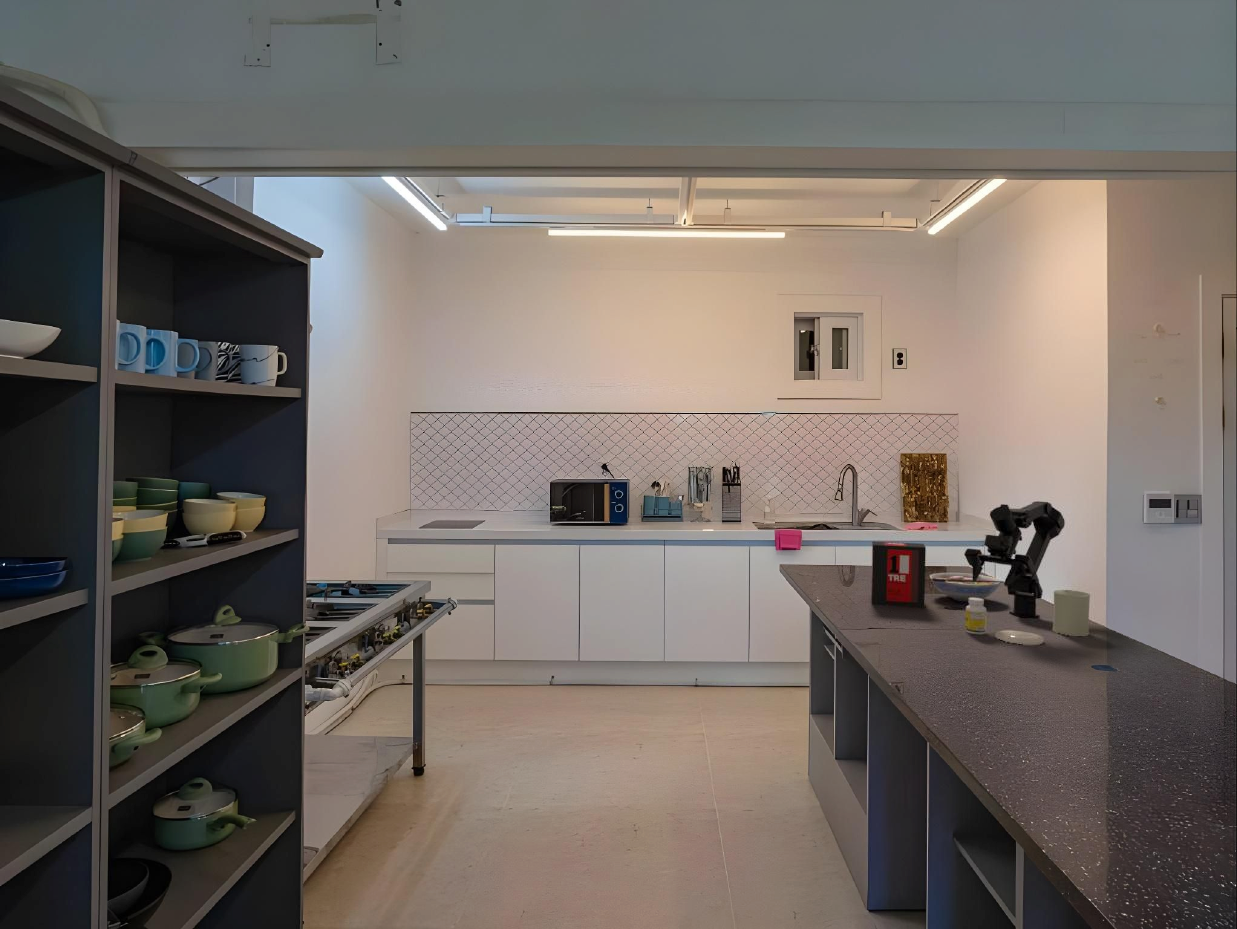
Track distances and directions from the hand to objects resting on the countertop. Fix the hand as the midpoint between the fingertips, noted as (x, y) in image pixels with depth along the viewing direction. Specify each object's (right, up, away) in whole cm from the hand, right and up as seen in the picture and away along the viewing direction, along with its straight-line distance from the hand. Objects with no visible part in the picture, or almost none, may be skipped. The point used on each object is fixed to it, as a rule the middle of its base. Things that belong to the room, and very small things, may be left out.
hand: (989, 582), depth 230 cm
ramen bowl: (+10, -12, +40) cm, 43 cm away
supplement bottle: (-6, -14, -5) cm, 16 cm away
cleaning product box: (-15, -12, +34) cm, 39 cm away
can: (+22, -14, -4) cm, 26 cm away
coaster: (+3, -14, -12) cm, 19 cm away
